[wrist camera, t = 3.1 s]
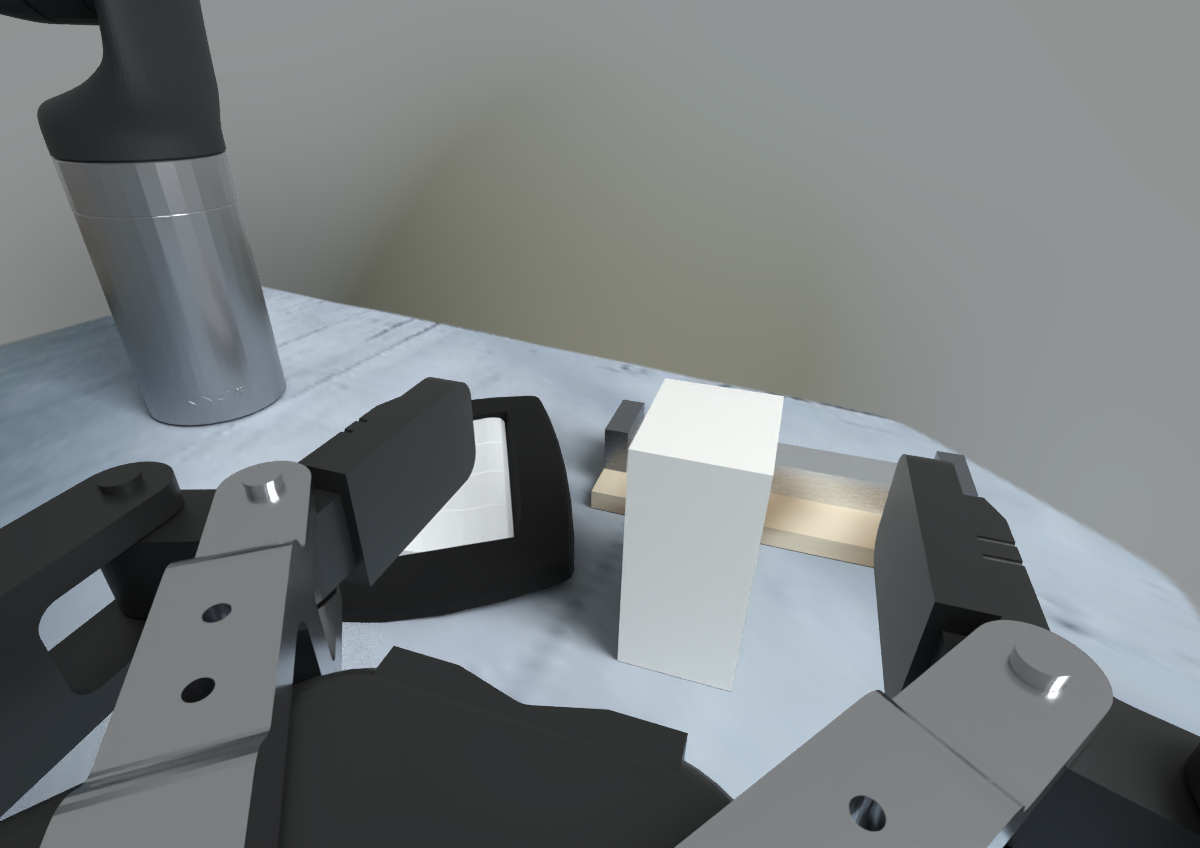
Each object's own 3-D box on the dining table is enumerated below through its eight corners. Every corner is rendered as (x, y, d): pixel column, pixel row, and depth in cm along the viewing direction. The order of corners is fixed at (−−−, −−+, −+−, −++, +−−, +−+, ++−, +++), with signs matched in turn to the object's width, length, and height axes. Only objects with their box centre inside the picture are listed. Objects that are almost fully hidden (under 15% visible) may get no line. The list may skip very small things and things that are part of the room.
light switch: (351, 402, 44) (547, 375, 46) (362, 437, 46) (551, 410, 47) (275, 611, 27) (588, 558, 29) (296, 655, 29) (593, 602, 31)
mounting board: (591, 507, 37) (591, 491, 36) (630, 434, 44) (631, 419, 44) (962, 586, 32) (970, 568, 31) (936, 488, 39) (942, 472, 39)
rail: (604, 468, 38) (605, 429, 37) (621, 436, 42) (623, 399, 40) (961, 537, 33) (978, 495, 32) (949, 495, 37) (963, 455, 35)
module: (617, 660, 28) (628, 448, 22) (652, 561, 33) (668, 372, 28) (731, 691, 26) (773, 475, 21) (748, 583, 32) (784, 390, 26)
